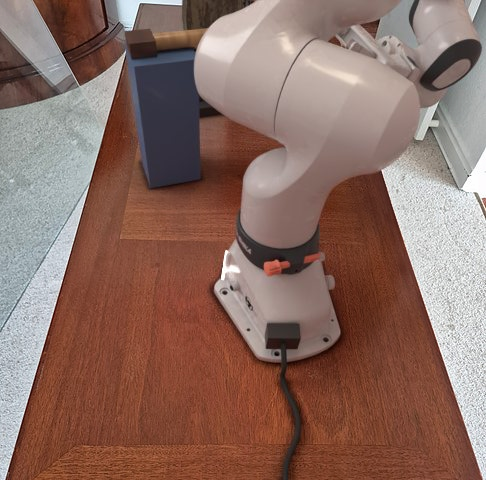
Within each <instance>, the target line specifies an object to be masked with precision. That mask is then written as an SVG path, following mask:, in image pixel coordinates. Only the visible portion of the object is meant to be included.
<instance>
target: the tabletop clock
mask: <svg viewBox="0 0 486 480" xmlns="http://www.w3.org/2000/svg"><path fill="white" fill-rule="evenodd" d="M241 9H243V0H181V21H182V28H183V30H182V31H185V30H196V29H206V28H209V27H210V26H211V25H212V24H213V23H214V22H215V21H216V20H218V19H219V18H221V17H222V16H225V15H228V14H232V13H234V12H237V11H239V10H241ZM192 48H193V50H194V49H195V48H196V47H192Z"/></svg>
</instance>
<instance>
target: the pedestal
mask: <svg viewBox="0 0 486 480" xmlns="http://www.w3.org/2000/svg"><path fill="white" fill-rule="evenodd" d="M123 43H124V49H125V56H126V62H127V69H128V77H129V85H130V91H131V97H132V104H133V111H134V117H135V125H136V132H137V138H138V146H139V152H140V159H141V164H142V167H143V170H144V174H145V177H146V180H147V182H148V185H149V189H154V188H161V187H166V186H172V185H177V184H183V183H187V182H189V183H190V182H194V181H200V180H201V178H202V177H201V176H202V175H201V137H200V136H201V129H200V128H201V127H200V126H201V125H200V124H201V123H200V121H201V120H200V117H199V93H198V91H197V87H196V84H195V78H194V59H195V54H196V51H194V49H193V48H192V47H190V48H181V49H171V50H162V51H157V57H148V58H139V59H131V57H130V54H129V52H128V49H127V47H126V40H124V42H123Z"/></svg>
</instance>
